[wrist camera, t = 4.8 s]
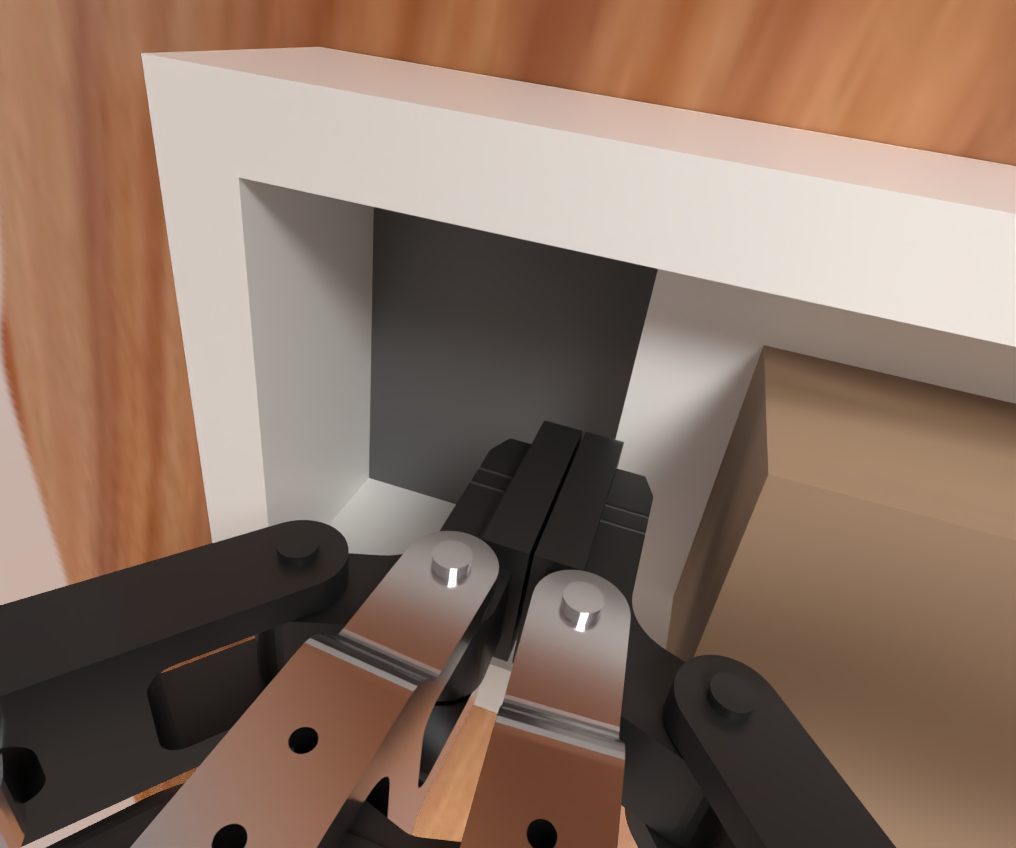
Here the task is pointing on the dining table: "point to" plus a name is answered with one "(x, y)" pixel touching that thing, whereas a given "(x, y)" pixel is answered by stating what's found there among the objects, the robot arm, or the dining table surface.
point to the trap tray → (533, 284)
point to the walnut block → (872, 586)
